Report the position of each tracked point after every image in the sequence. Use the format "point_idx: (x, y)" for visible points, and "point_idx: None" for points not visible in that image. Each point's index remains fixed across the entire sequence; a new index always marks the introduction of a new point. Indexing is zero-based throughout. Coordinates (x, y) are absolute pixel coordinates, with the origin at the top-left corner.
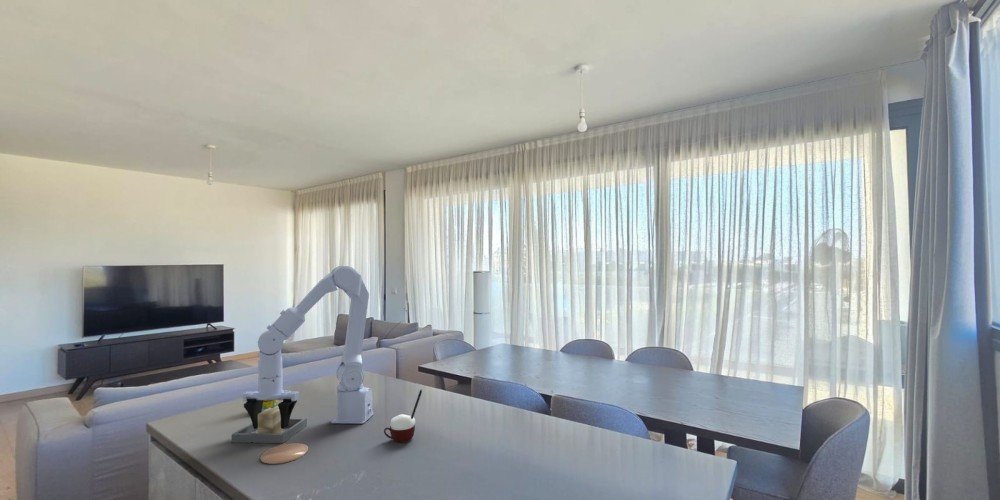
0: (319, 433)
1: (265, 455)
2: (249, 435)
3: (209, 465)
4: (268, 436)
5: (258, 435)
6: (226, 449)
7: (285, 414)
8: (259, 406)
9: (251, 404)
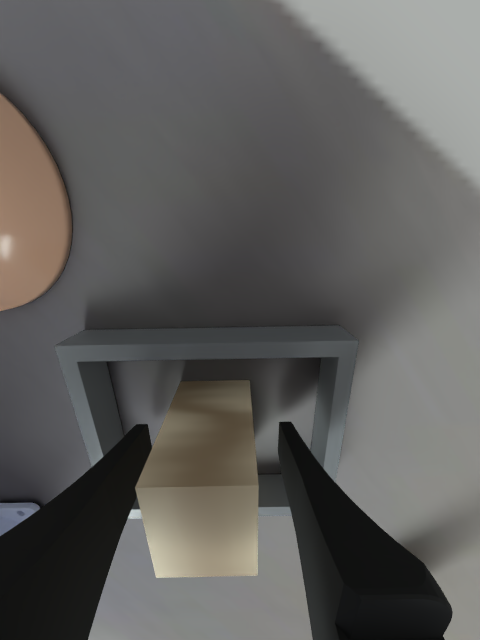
0: (7, 425)
1: (8, 141)
2: (251, 340)
3: (278, 7)
4: (143, 340)
5: (199, 341)
6: (315, 246)
7: (56, 498)
8: (311, 584)
9: (351, 606)
